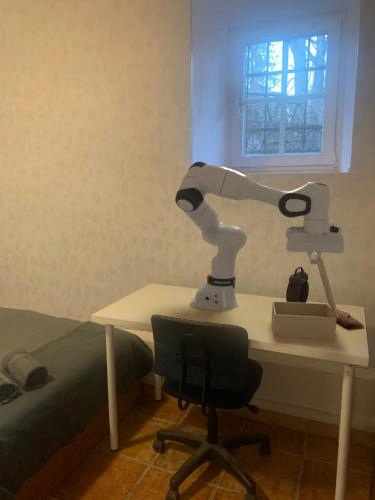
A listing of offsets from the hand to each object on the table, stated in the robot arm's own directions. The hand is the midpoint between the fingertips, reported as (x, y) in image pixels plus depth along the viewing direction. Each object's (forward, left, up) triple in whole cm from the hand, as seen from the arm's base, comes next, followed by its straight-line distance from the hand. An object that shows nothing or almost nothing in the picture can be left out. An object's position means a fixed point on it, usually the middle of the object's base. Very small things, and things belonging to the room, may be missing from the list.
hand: (313, 263), depth 142 cm
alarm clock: (-1, +31, -29) cm, 43 cm away
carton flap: (+8, +2, -18) cm, 20 cm away
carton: (-3, +2, -29) cm, 29 cm away
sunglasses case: (+18, +18, -30) cm, 39 cm away
